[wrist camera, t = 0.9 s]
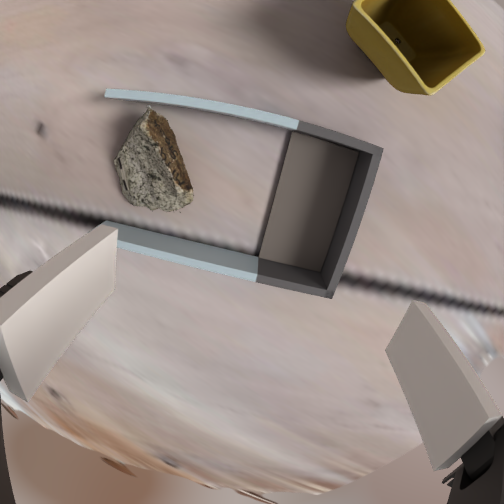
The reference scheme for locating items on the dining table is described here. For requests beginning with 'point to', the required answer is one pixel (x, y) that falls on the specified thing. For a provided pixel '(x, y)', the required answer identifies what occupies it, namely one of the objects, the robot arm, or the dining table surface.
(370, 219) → the dining table surface
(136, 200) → the rock sample
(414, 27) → the flower pot
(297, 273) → the grey open box
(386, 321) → the dining table surface
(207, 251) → the strips
